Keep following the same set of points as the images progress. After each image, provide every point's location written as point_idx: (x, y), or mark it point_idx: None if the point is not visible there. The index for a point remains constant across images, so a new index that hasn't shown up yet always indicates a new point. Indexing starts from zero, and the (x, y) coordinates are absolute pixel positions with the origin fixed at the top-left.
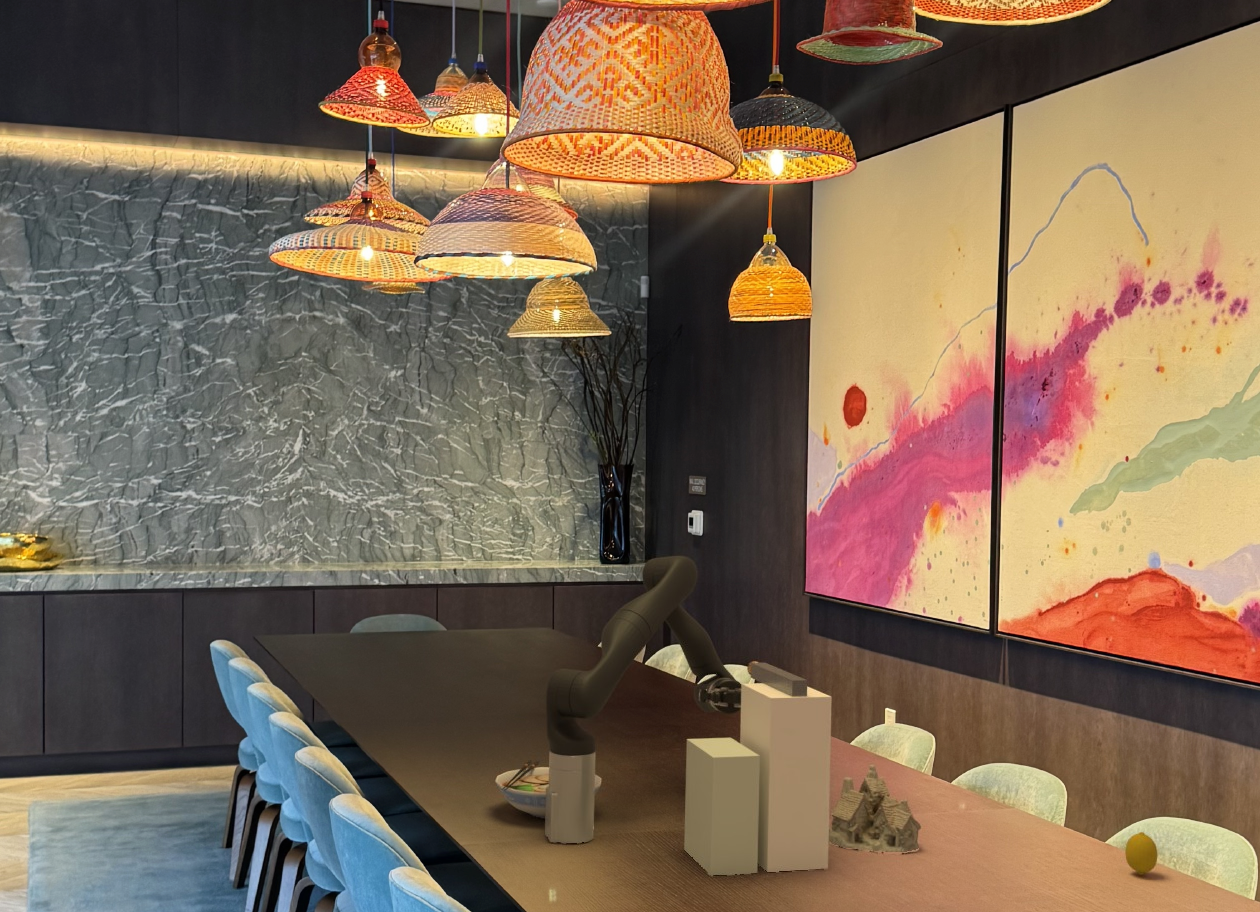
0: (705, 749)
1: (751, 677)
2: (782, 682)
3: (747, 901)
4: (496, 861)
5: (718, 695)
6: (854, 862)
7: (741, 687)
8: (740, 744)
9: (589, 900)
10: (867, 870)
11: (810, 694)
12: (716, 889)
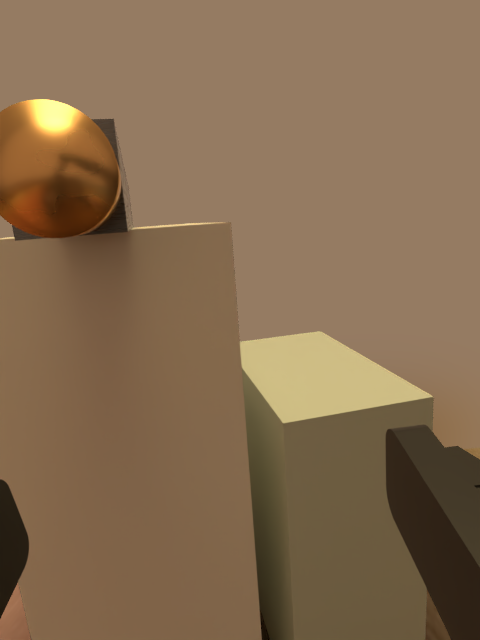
0: (346, 351)
1: (127, 228)
2: (129, 199)
3: None
4: None
5: (389, 440)
6: (5, 637)
7: (231, 237)
8: (256, 382)
9: (471, 450)
10: (17, 590)
11: None
12: None
